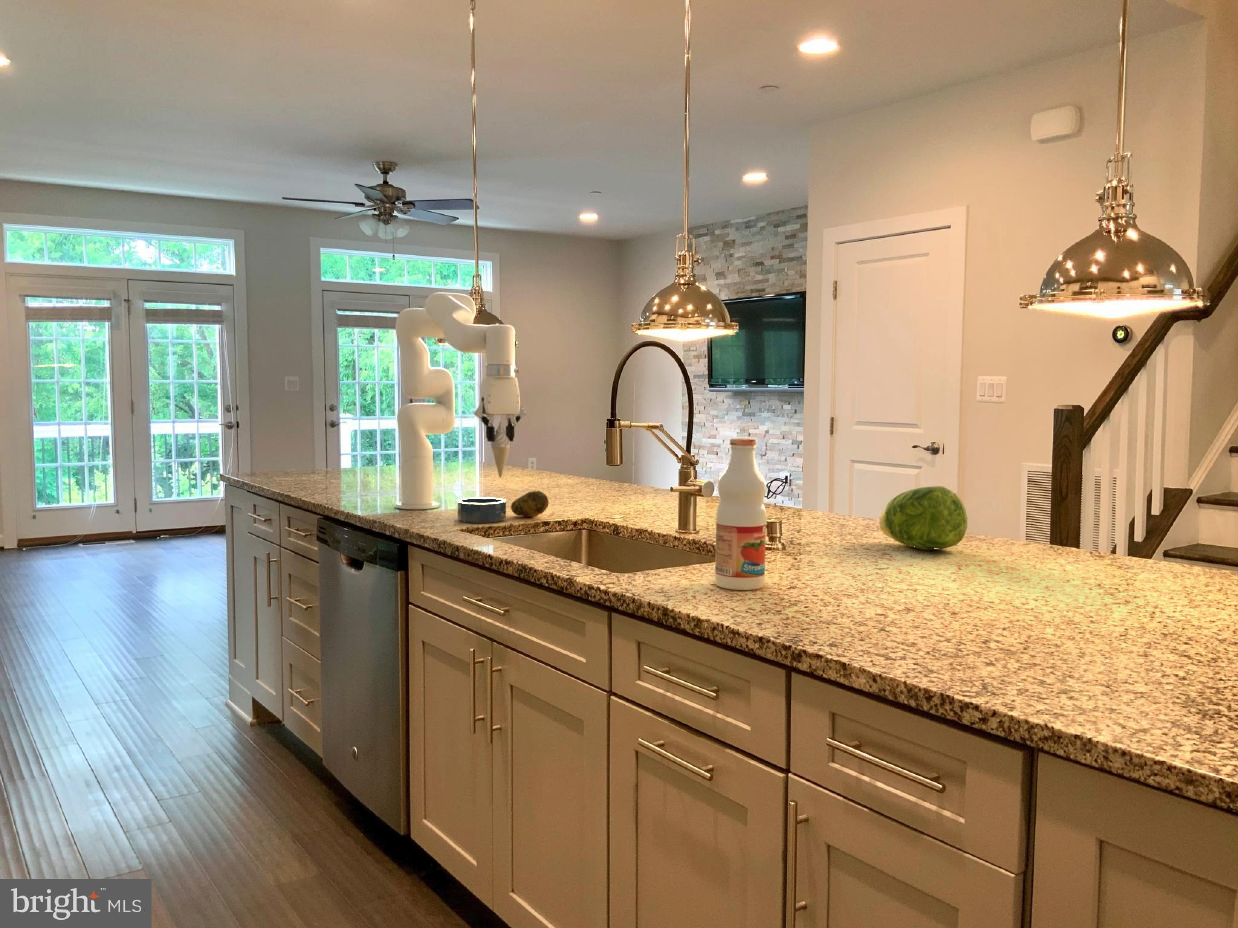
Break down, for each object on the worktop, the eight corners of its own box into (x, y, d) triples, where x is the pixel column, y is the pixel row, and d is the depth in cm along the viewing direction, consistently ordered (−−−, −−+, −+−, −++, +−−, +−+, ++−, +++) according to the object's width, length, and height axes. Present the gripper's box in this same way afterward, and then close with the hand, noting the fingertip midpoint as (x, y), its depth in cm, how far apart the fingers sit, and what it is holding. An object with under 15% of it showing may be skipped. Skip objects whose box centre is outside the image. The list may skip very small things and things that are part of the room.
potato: (535, 514, 271) (535, 486, 270) (552, 520, 259) (552, 491, 258) (508, 515, 267) (508, 488, 266) (524, 521, 255) (524, 493, 255)
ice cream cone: (488, 476, 248) (489, 420, 246) (507, 476, 249) (508, 420, 248) (493, 478, 243) (493, 421, 242) (511, 478, 245) (512, 421, 243)
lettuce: (914, 550, 233) (894, 492, 234) (988, 534, 217) (966, 472, 218) (876, 566, 223) (856, 506, 224) (950, 551, 207) (928, 486, 208)
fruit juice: (725, 578, 183) (729, 437, 181) (771, 583, 179) (775, 438, 176) (706, 587, 175) (710, 439, 172) (754, 593, 170) (758, 441, 168)
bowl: (450, 518, 259) (450, 499, 259) (493, 515, 266) (493, 496, 266) (469, 525, 248) (469, 504, 248) (513, 521, 255) (513, 501, 255)
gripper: (522, 372, 251) (522, 439, 253) (464, 371, 242) (464, 441, 244) (535, 372, 245) (535, 441, 247) (476, 371, 236) (476, 443, 237)
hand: (500, 440), depth 245 cm, fingers closed on ice cream cone, 4 cm apart
